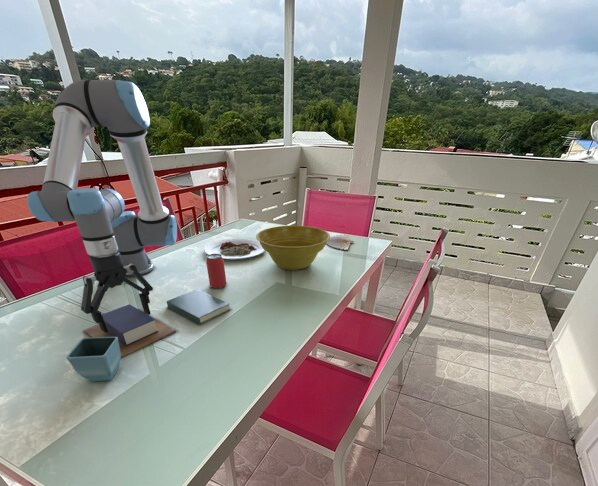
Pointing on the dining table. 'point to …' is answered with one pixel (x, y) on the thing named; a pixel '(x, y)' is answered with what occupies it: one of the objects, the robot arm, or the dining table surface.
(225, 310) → the green notebook
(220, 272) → the beer can
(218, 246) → the plated food
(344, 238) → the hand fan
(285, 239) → the planter bowl
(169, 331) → the brown wooden board
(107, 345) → the flower pot
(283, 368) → the dining table surface
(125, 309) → the navy book
